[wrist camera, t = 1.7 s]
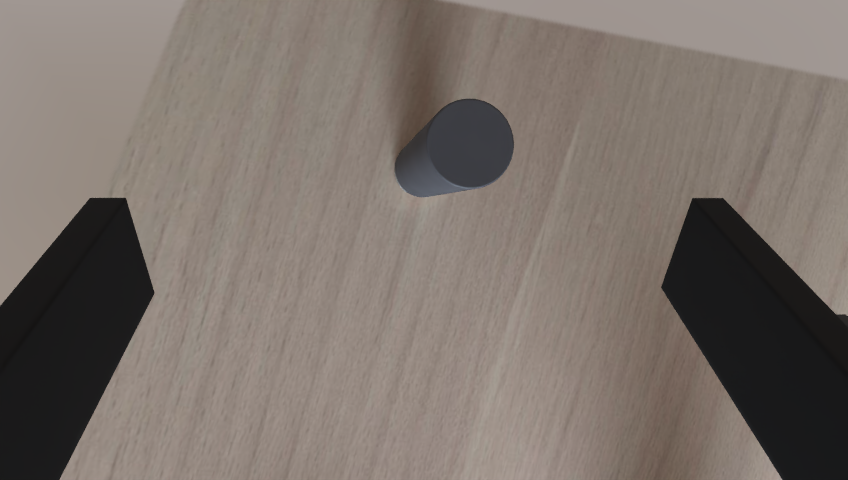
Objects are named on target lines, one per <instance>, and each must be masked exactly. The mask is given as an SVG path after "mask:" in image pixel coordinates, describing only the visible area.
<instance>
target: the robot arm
mask: <svg viewBox="0 0 848 480" xmlns="http://www.w3.org/2000/svg"><path fill="white" fill-rule="evenodd" d="M661 288H662V290H663V291H664V293H665V294H666V296H667V298H668V299H669V301H670V302H671V304H672V306H673V307H674V309H675V310H676V312H677V313H678V315H679V317H680V318H681V320H682V321H683V323H684V325H685V326H686V328H687V329H688V331H689V332H690V334H691V336H692V337H693V339H694V340H695V342H696V344H697V345H698V347H699V348H700V350H701V351H702V353H703V355H704V356H705V358H706V359H707V361H708V363H709V364H710V366H711V367H712V369H713V370H714V372H715V374H716V375H717V377H718V378H719V380H720V381H721V383H722V385H723V386H724V388H725V389H726V391H727V393H728V394H729V396H730V397H731V399H732V400H733V402H734V404H735V405H736V407H737V408H738V410H739V412H740V413H741V415H742V416H743V418H744V419H745V421H746V423H747V424H748V426H749V427H750V429H751V431H752V432H753V434H754V435H755V437H756V438H757V440H758V442H759V443H760V445H761V446H762V448H763V450H764V451H765V453H766V454H767V456H768V457H769V459H770V461H771V462H772V464H773V465H774V467H775V469H776V470H777V472H778V473H779V475H780V476H781V478H782V480H848V316H847V315H836V314H835V313H834V312H833V311H832V310H831V309H830V308H829V307H828V306H827V305H826V304H825V303H824V302H823V301H822V300H821V299H820V298H819V297H818V296H817V295H816V294H815V293H814V292H813V290H812V289H811V288H810V287H809V286H808V285H807V284H806V283H805V282H804V281H803V280H802V279H801V278H800V277H799V276H798V275H797V274H796V273H795V272H794V271H793V270H792V269H791V268H790V267H789V266H788V265H787V264H786V263H785V262H784V261H783V260H782V258H781V257H780V256H779V255H778V254H777V253H776V252H775V251H774V250H773V249H772V248H771V247H770V246H769V245H768V244H767V243H766V242H765V241H764V240H763V239H762V238H761V237H760V236H759V235H758V234H757V233H756V232H755V231H754V230H753V229H752V228H751V226H750V225H749V224H748V223H747V222H746V221H745V220H744V219H743V218H742V217H741V216H740V215H739V214H738V213H737V212H736V211H735V210H734V209H733V208H732V207H731V206H730V205H729V204H728V203H727V202H726V201H725V200H724V199H723V198H692V201H691V204H690V207H689V209H688V212H687V215H686V218H685V221H684V224H683V227H682V229H681V232H680V235H679V238H678V241H677V244H676V247H675V249H674V252H673V255H672V258H671V261H670V264H669V266H668V269H667V272H666V275H665V278H664V281H663V284H662V286H661ZM153 295H154V290H153V286H152V283H151V280H150V276H149V273H148V270H147V267H146V263H145V260H144V257H143V253H142V250H141V247H140V243H139V240H138V237H137V234H136V230H135V227H134V224H133V220H132V217H131V214H130V210H129V207H128V204H127V200H126V198H90V199H89V200H88V201H87V202H86V204H85V205H84V206H83V207H82V209H81V210H80V211H79V212H78V213H77V214H76V216H75V217H74V218H73V219H72V220H71V222H70V223H69V224H68V225H67V226H66V228H65V229H64V230H63V231H62V233H61V234H60V235H59V236H58V237H57V238H56V240H55V241H54V242H53V243H52V245H51V246H50V247H49V248H48V249H47V251H46V252H45V253H44V254H43V255H42V257H41V258H40V259H39V260H38V261H37V263H36V264H35V265H34V266H33V268H32V269H31V270H30V271H29V272H28V273H27V275H26V276H25V277H24V278H23V279H22V281H21V282H20V283H19V284H18V285H17V287H16V288H15V289H14V290H13V291H12V293H11V294H10V295H9V296H8V297H7V299H6V300H5V301H4V302H3V303H2V305H1V306H0V480H59V479H60V477H61V475H62V473H63V471H64V469H65V467H66V465H67V464H68V462H69V460H70V458H71V456H72V454H73V452H74V450H75V448H76V446H77V444H78V442H79V440H80V438H81V436H82V434H83V432H84V430H85V428H86V426H87V424H88V422H89V420H90V418H91V416H92V415H93V413H94V411H95V409H96V407H97V405H98V403H99V401H100V399H101V397H102V395H103V393H104V391H105V389H106V387H107V385H108V383H109V381H110V379H111V377H112V375H113V373H114V371H115V369H116V368H117V366H118V364H119V362H120V360H121V358H122V356H123V354H124V352H125V350H126V348H127V346H128V344H129V342H130V340H131V338H132V336H133V334H134V332H135V330H136V328H137V326H138V324H139V322H140V320H141V319H142V317H143V315H144V313H145V311H146V309H147V307H148V305H149V303H150V301H151V299H152V297H153Z"/></svg>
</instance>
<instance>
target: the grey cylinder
mask: <svg viewBox="0 0 848 480" xmlns="http://www.w3.org/2000/svg"><path fill="white" fill-rule="evenodd" d="M513 148H514V140H513V134H512V130H511V128H510V125H509V123H508V121H507V119H506V118H505V117H504V115H503V114H502V113H501V112H500V111H499V110H498V109H497V108H495V107H494V106H492V105H491V104H489V103H487V102H485V101H481V100H477V99H461V100H457V101H454V102H452V103H450V104H448V105H446V106H445V107H443V108H442V109H441V110H440V111H439V112H438V113H437V114H436V115H435V116H434V117H433V118H432V119H431V120H430V121H429V122H428V123H427V124H426V125H425V126H424V127H423V129H422V130H421V131H420V132H419V133H418V134H417V135H416V136H415V137H414V138H413V139H412V140H411V141H410V142H409V143H408V144H407V145H406V146H405V147H404V148H403V149H402V150H401V152H400V153H399V155H398V157H397V159H396V163H395V177H396V180H397V182H398V184H399V185H400V187H401V188H402V189H403V190H404V191H406V192H407V193H409V194H411V195H414V196H417V197H429V196H435V195H441V194H447V193H453V192H459V191H465V190H471V189H477V188H481V187H485V186H487V185H489V184H491V183H493V182H495V181H496V180H497V179H498V178H499V177H500V176H501V175H502V174H503V173H504V172H505V170H506V169H507V167H508V166H509V164H510V161H511V159H512V155H513Z"/></svg>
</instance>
